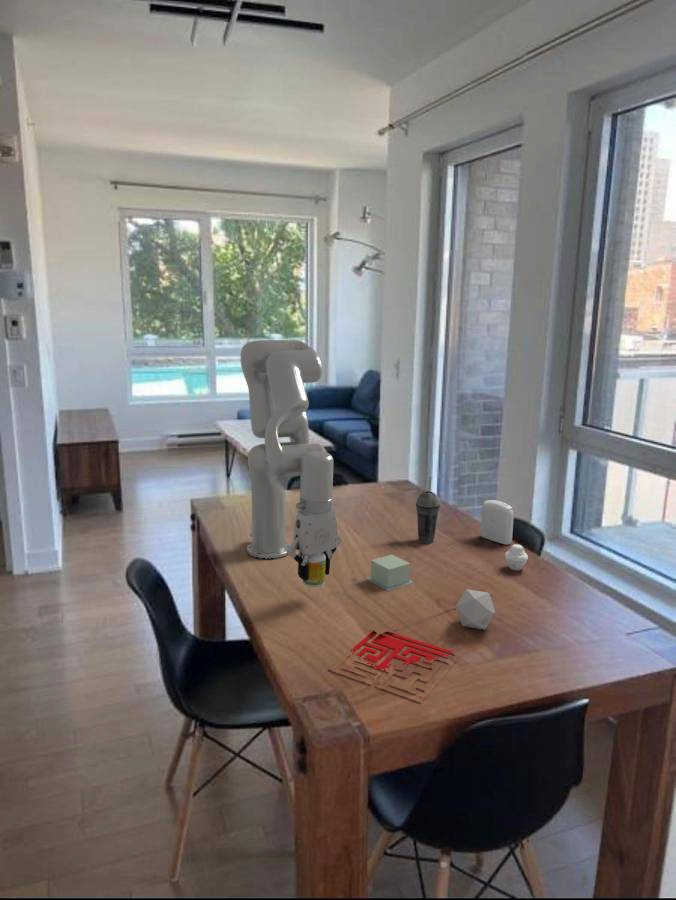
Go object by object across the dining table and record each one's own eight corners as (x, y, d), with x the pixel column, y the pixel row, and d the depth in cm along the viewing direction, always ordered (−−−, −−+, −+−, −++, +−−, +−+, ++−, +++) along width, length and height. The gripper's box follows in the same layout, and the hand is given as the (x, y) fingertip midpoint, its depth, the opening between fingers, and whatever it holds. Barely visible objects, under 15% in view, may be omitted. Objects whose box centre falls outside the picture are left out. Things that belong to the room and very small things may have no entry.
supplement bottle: (322, 589, 155) (323, 550, 152) (300, 586, 156) (300, 548, 153) (327, 579, 160) (328, 542, 157) (305, 576, 161) (306, 539, 158)
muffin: (527, 573, 176) (530, 549, 175) (504, 571, 177) (506, 547, 176) (526, 565, 182) (528, 541, 181) (503, 562, 183) (505, 539, 182)
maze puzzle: (327, 672, 128) (328, 669, 128) (376, 630, 145) (376, 628, 145) (421, 706, 118) (421, 702, 118) (461, 657, 135) (462, 654, 135)
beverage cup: (411, 543, 197) (414, 479, 193) (417, 535, 204) (420, 473, 199) (434, 546, 194) (438, 482, 190) (440, 538, 201) (444, 476, 197)
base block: (370, 578, 168) (371, 560, 167) (391, 572, 172) (391, 554, 171) (388, 588, 163) (389, 569, 161) (409, 581, 167) (410, 563, 165)
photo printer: (477, 536, 204) (480, 498, 201) (486, 533, 206) (489, 496, 204) (505, 546, 196) (508, 507, 193) (513, 543, 199) (517, 504, 196)
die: (475, 641, 142) (503, 607, 141) (444, 614, 145) (471, 580, 144) (479, 637, 149) (505, 604, 149) (449, 611, 152) (475, 579, 152)
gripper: (293, 516, 145) (292, 590, 149) (354, 502, 155) (351, 573, 159) (276, 506, 151) (275, 578, 155) (336, 494, 161) (333, 562, 165)
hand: (313, 574), depth 157 cm, fingers closed on supplement bottle, 5 cm apart
